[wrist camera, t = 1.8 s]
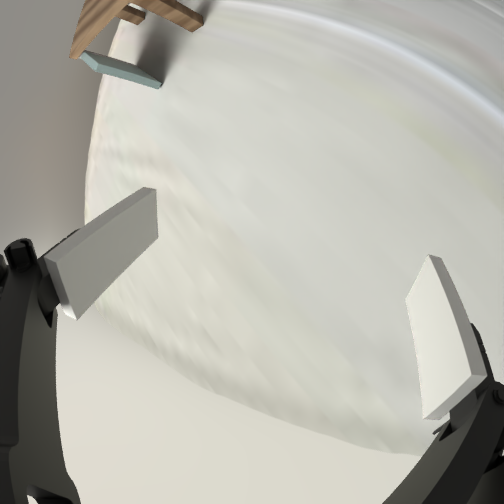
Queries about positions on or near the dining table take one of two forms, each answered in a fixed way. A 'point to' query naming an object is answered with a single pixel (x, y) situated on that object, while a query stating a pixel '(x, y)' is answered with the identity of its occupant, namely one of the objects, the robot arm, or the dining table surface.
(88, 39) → the step stool
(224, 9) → the dining table surface
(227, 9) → the dining table surface
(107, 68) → the pale teal panel
